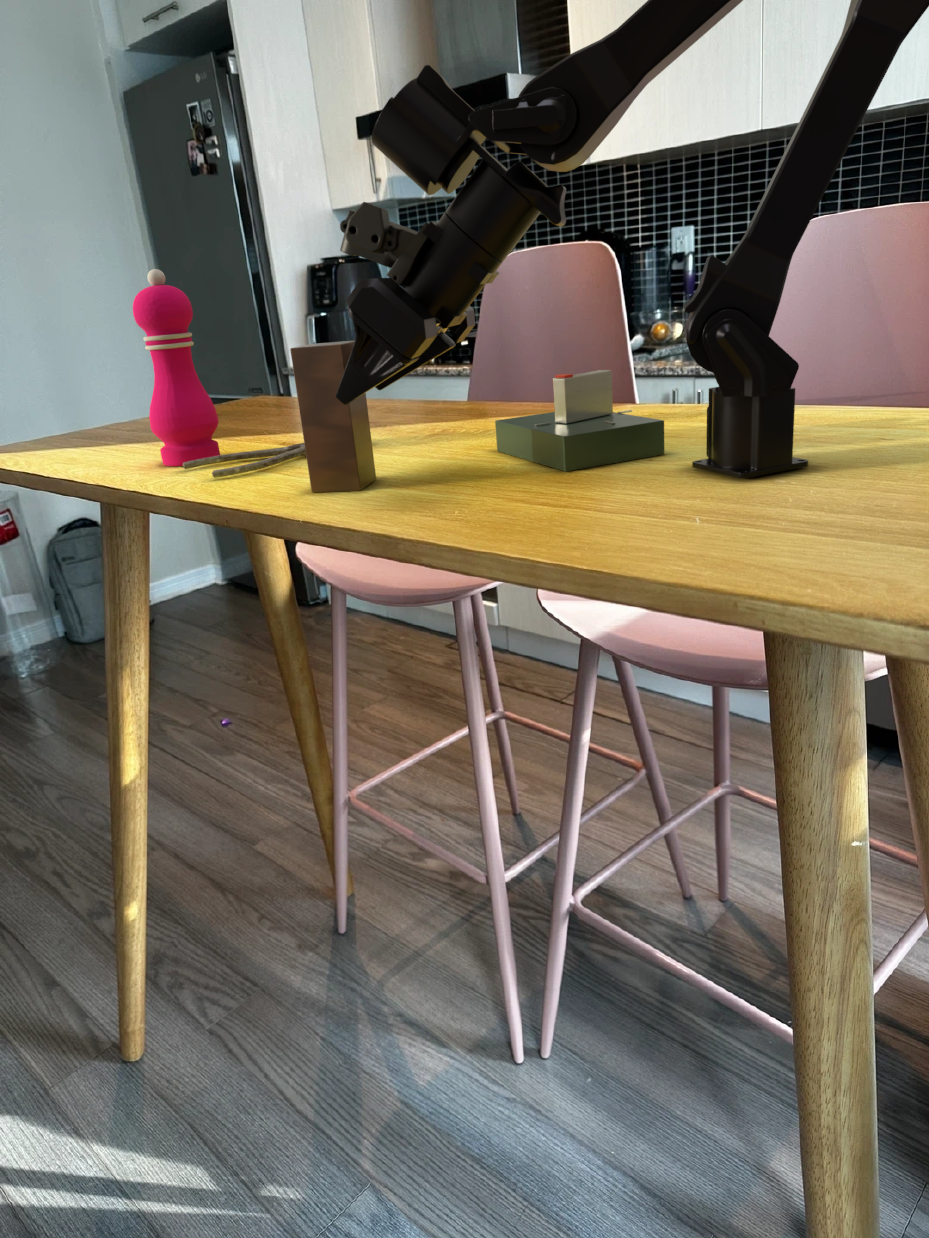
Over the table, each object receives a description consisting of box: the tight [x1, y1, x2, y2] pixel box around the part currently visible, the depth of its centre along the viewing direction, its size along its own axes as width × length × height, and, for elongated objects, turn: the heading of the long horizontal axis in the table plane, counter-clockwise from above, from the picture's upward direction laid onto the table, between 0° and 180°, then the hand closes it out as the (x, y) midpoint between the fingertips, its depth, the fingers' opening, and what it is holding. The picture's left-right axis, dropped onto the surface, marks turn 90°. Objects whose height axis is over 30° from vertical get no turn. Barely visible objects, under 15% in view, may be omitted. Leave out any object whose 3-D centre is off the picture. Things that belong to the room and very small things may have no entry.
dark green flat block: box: [494, 409, 665, 472], centre depth 83 cm, size 14×11×3 cm
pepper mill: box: [132, 268, 221, 467], centre depth 95 cm, size 7×7×20 cm
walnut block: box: [289, 339, 377, 493], centre depth 76 cm, size 4×4×12 cm
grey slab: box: [552, 369, 614, 424], centre depth 81 cm, size 6×2×4 cm, turn 127°
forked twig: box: [182, 442, 306, 479], centre depth 95 cm, size 10×1×20 cm
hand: (358, 393), depth 75 cm, fingers open, 9 cm apart
